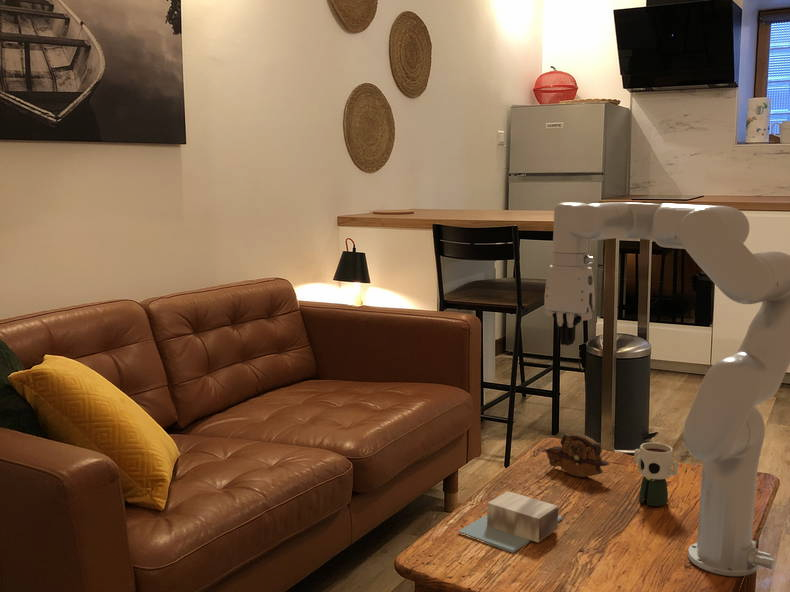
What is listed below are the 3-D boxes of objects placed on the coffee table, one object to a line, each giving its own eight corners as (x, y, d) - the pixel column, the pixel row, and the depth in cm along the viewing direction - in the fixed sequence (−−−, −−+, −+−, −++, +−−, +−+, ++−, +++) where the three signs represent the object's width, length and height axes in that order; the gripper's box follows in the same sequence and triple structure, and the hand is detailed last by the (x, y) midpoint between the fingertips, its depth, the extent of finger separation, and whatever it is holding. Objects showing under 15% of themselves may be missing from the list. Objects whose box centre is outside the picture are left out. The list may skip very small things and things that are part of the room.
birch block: (559, 506, 168) (508, 491, 175) (539, 519, 162) (487, 502, 169) (558, 529, 169) (507, 513, 176) (538, 542, 162) (487, 525, 170)
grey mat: (562, 519, 175) (562, 516, 175) (513, 553, 159) (513, 550, 159) (509, 503, 183) (509, 500, 183) (458, 533, 168) (458, 531, 167)
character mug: (623, 499, 186) (626, 444, 183) (641, 491, 190) (644, 437, 188) (665, 515, 177) (668, 457, 175) (683, 506, 182) (687, 450, 179)
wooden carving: (541, 470, 203) (542, 431, 201) (549, 465, 206) (551, 427, 205) (604, 486, 193) (606, 445, 191) (612, 480, 197) (614, 440, 195)
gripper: (610, 261, 174) (606, 345, 177) (546, 256, 183) (544, 336, 186) (595, 264, 168) (591, 352, 171) (530, 259, 177) (528, 342, 180)
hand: (566, 343), depth 178 cm, fingers closed
